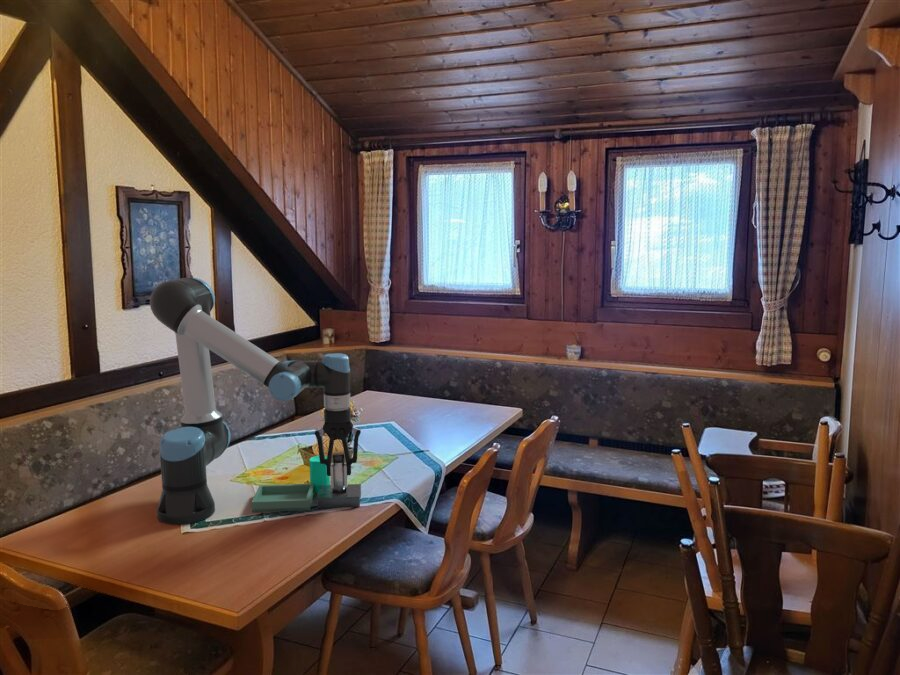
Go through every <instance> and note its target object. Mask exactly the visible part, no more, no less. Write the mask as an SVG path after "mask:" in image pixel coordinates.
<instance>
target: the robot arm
mask: <svg viewBox="0 0 900 675" xmlns="http://www.w3.org/2000/svg"><path fill="white" fill-rule="evenodd" d="M215 303H216V296H215V293H214V290H213V288H212V287H211V286H210V285H209V283H207V282H206V281H204V280H202V279H200V278H198V277H181V278H178V279H174V280H166V281H164V282H162V283H160V284H158V285H157V286H156V287H155V288H154V289H153V291H152V292H151V294H150V298H149V305H150V310H151V311H152V312H151V313H152V315H153V316H154V317H155V318H156V319H157V320H158V321H159V322H160V323H161V324H162V325H164V326H165V327H166V328H168V329H170V331H173V332H174V334H175V340H176V349H177V350H176V351H177V357H178V366H179V373H180V374H179V375H180V382H181V389H182V391H181V392H182V398H183V406H184V412H185V413H184V415H183V416H182V417H181V419H180V426H181V427H177V428H176V429H171V430H169V431H166V433H163V435H161V437H160V439H159V448H158V450H159V451H158V453H159V459H160V474H161V476H160V477H161V485H162V486H161V487H162V490H161V494H160V499H159V502H158V504H157V508H156V509H157V510H156V516H157V519H158V521H159V522H161V523H163V524H167V525H187V524H192V523H196V522H201V521H203V520H206V519H208V518H210V517H211V516H213V515H214V513H215V512H216V507H215V506H216V505H215V501H214V498H213V495H212V493H211V490H210V488H209V486H208V481H207V480H208V479H207V467H208V466H209V464H211V463H212V462H213V461H215V459H218V458H220V457H221V456H222V455H223V454H224V452H225V451H226V450H227V449H228V447H229V445H230V443H231V430H230V428H229V425H228V424H227V423H226V422H224V420H223V413H222V412H221V411H218V409H217V408H216V407H217V406H216V398H215V391H214V388H215V387H214V381H213V371H212V363H211V362H212V361H211V355H210V354H211V353H210V352H212V353H214V354H215V355H217V356H219V358H220V357H221V359H223V360H225V361H226V362H228V363H229V364H231V365H233V366H234V367H236V368H237V369H239V370H240V371H242V372H243V373H245V374H247V375H248V376H249V377H251V378H253V379H254V380H255V381H257V382H259V383H260V384H261V385H263V386H265V387H266V388H268V392H269V393H270V395H271V397H272V398H274V399H275V400H276V401H279V402H287V401H289V400H292V399H294V398H296V397H297V396H298V395H299V394H300V393H301V392H302V391H304V390H305V389H306V388H323V407H324V409H323V417H324V424H323V425H322V427H320V428H317V429H315V431H314V435H315V438H316V439H317V448H318V449H317V450H318V456H319V458H320V463H321V464H325V465H326V466H327V476H330V485H331V488H334V473H333V462H332V460H333V451H334V444H335V441H336V440H340V441H341V444H342V447H343V448H342V449H343V452H344V453H343V454H344V460H345V462H344V487H347V485H348V483H349V482H348V481H349V480H348V476H351V474H352V464H356V463H357V461H358V451H359V450H358V449H359V438H360V435H361V431H362V428H361V427H358V428H357V427H355V426H353V424H352V420H351V419H352V418H351V417H352V414H351V413H352V412H351V411H352V410H351V405H352V404H351V387H350V386H351V368H350V359H349V355H347V354H346V353H340V352H339V353H338V352H337V353H327V354H324V355H323V356H322V360H316V361H315V360H297V359H294V360H285V361H283V362H281V361H280V360H279V359H277V358H275V357H274V356H272V355H270V354H269V353H267V352H266V351H265V350H263V349H261V348H260V347H258V346H257V345H256V344H254V343H252V342H250V341H249V340H248V339H246V338H245V337H243V336H242V335H240V334H238V333H237V332H236V331H234V330H232V329H231V328H229V327H228V326H226V325H224V324H223V323H221V322H220V321H218V320H216V319H215V318H214V317H212V315H211V312H212V310H213V309H214V307H215ZM351 432H352V435H353V449H352V457H351V454H350V448H349V443H348V436H349V435H350V433H351ZM324 433H325V435H327V437H328V438H329V442H328V448H327V455H325V448H324V439H323V438H324V437H323V436H324ZM325 456H327V459H325Z"/></svg>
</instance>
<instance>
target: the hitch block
mask: <svg viewBox="0 0 900 675" xmlns="http://www.w3.org/2000/svg"><path fill="white" fill-rule="evenodd" d="M361 497H362V484H361V483H355V484H354V483H353V484H350V483H349V484H348V485H347V487H345V493H336V494H334V488H331V484H330V485H320V488H319V492H318V494H317V497H316V503H317V504H316V507H317V509H326V508H331V509H332V508H355V507H356V508H359V507H361Z"/></svg>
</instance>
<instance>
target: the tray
mask: <svg viewBox="0 0 900 675" xmlns="http://www.w3.org/2000/svg"><path fill="white" fill-rule="evenodd" d="M314 495H315V494H314V484H310V483H294V484H293V483H292V484H263V485H262V484H261V485H259V486H258V487H257V490H256V491H255V494H254V496H253V498H252V500H251V513H269V512H298V511H299V512H301V511H302V512H303V511H310V510H311V506H312V503H313V499H314V497H315V496H314Z"/></svg>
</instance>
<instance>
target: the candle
mask: <svg viewBox="0 0 900 675" xmlns="http://www.w3.org/2000/svg"><path fill="white" fill-rule="evenodd" d="M324 456H325V459H327V455H324ZM309 482H310V483H309V484H314V493H315V494H316V495H318V492H319V488H320V485H331V476H327V466H326V465H325V464H321V463H320V458H319V455H314V456H312V457H310V458H309ZM315 494H314V495H315Z"/></svg>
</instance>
